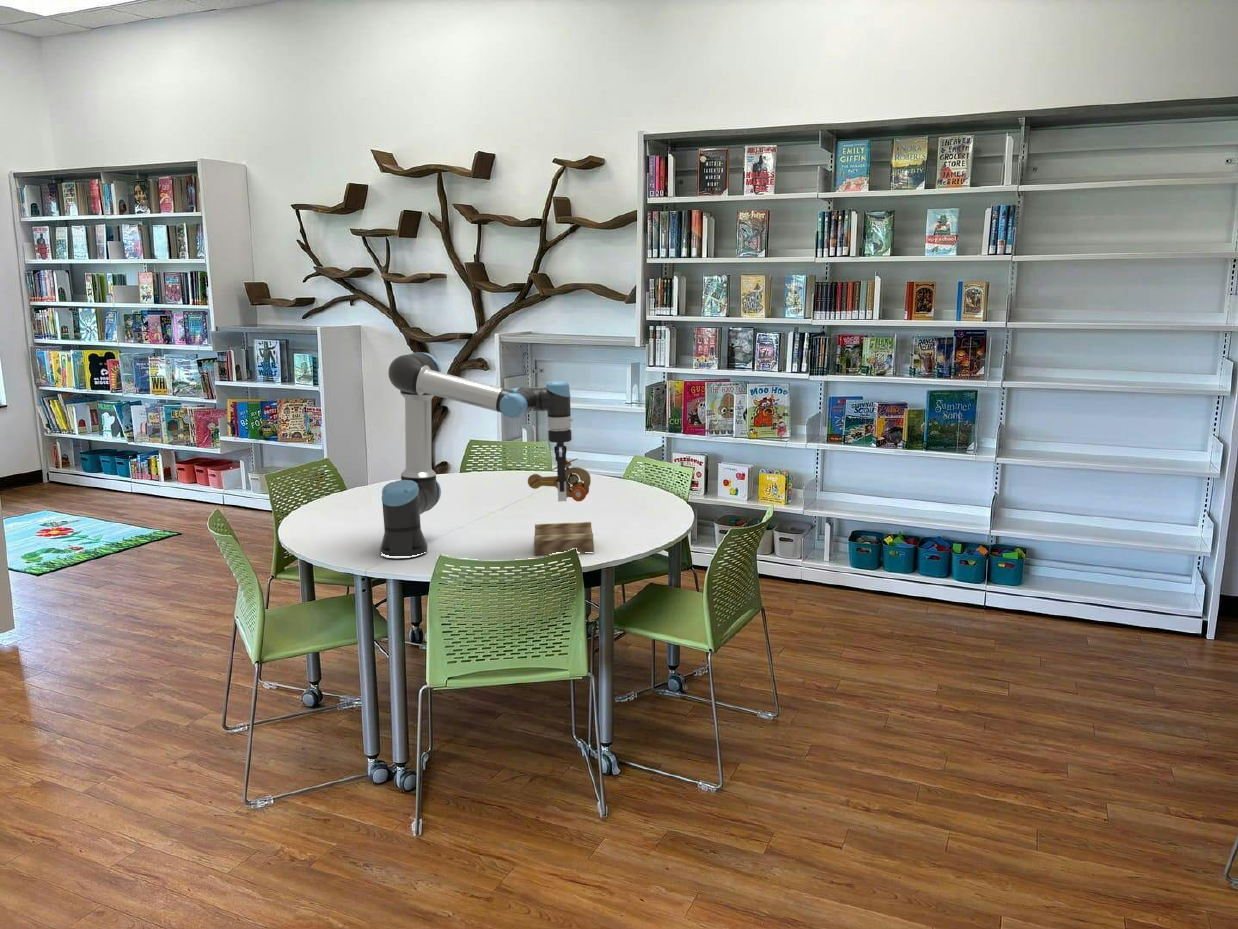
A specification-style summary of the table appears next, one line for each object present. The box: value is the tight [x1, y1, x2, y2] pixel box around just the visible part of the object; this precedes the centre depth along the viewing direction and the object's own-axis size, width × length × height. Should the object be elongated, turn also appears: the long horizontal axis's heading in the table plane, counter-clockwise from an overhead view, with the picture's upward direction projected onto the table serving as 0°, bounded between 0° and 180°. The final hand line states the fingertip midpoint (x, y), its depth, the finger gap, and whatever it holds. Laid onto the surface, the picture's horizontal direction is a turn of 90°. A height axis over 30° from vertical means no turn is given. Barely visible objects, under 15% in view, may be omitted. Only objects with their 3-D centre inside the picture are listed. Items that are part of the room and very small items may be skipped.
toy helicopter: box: [527, 457, 592, 502], centre depth 307 cm, size 8×21×14 cm, turn 83°
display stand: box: [533, 521, 595, 557], centre depth 310 cm, size 19×16×6 cm
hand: (562, 498), depth 308 cm, fingers closed on toy helicopter, 7 cm apart
